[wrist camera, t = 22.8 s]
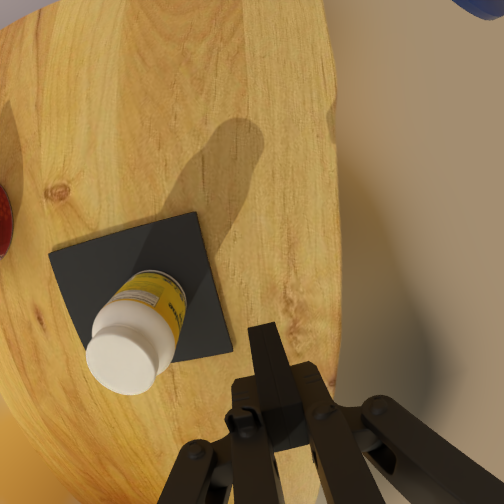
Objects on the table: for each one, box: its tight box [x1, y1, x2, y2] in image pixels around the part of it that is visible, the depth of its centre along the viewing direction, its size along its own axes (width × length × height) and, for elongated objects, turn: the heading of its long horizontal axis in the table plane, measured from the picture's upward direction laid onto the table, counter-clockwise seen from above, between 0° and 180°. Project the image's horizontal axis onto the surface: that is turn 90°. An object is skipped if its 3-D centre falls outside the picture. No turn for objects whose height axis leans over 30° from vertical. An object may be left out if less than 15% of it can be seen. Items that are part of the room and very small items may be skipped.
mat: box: [48, 212, 233, 363], centre depth 27 cm, size 16×14×1 cm
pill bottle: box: [86, 270, 187, 395], centre depth 21 cm, size 6×6×11 cm
